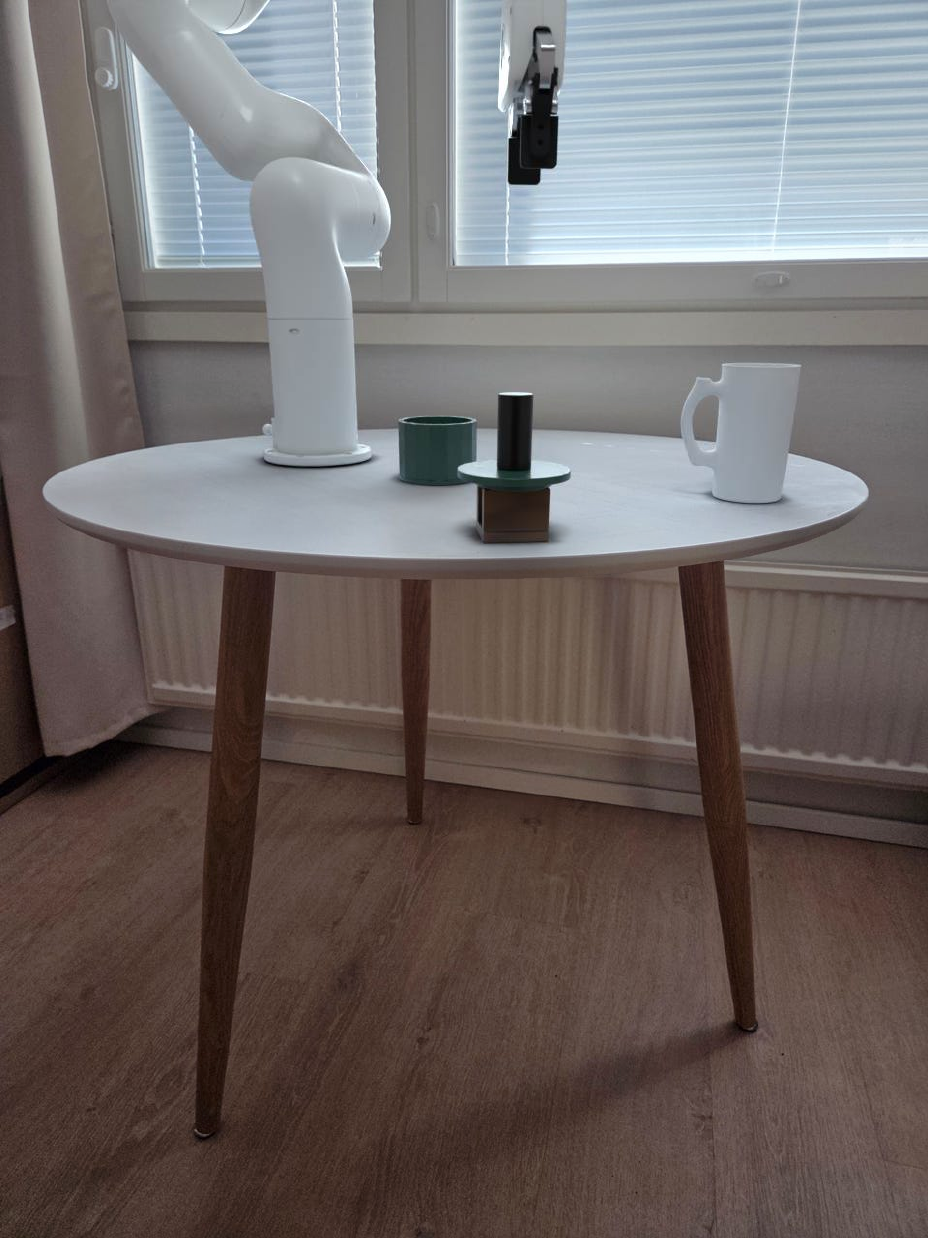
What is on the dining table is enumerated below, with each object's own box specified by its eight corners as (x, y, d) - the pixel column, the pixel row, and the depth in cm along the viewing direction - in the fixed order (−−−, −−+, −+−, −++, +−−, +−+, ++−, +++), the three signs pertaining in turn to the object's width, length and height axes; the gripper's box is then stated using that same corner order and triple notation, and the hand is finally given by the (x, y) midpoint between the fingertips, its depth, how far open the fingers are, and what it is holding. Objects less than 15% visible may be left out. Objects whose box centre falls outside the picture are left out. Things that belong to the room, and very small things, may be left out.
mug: (774, 490, 82) (790, 362, 78) (792, 505, 76) (811, 367, 72) (669, 488, 83) (680, 362, 79) (679, 502, 77) (691, 366, 73)
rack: (483, 543, 63) (484, 490, 62) (476, 529, 67) (476, 479, 66) (548, 541, 64) (550, 488, 62) (537, 527, 68) (539, 478, 67)
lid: (460, 495, 60) (460, 399, 58) (454, 474, 68) (454, 388, 66) (580, 494, 60) (584, 398, 58) (559, 473, 68) (563, 388, 66)
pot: (399, 485, 85) (397, 424, 83) (400, 471, 92) (398, 415, 90) (478, 484, 85) (479, 424, 83) (473, 471, 93) (473, 415, 90)
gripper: (484, -10, 81) (482, 189, 86) (503, -92, 64) (499, 160, 70) (562, -8, 81) (555, 190, 87) (600, -89, 65) (589, 161, 71)
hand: (530, 176), depth 78 cm, fingers open, 9 cm apart
